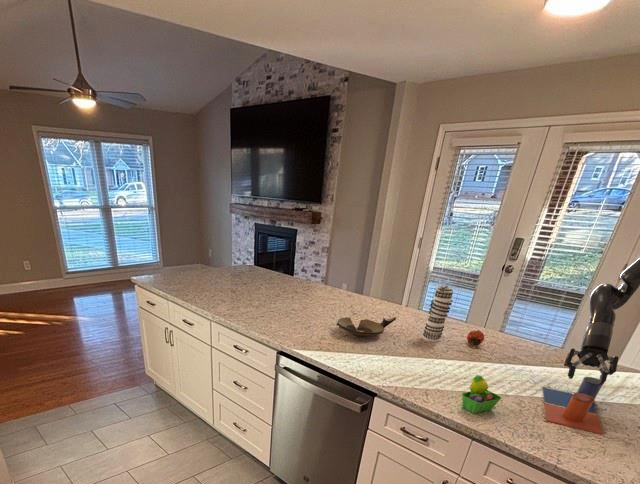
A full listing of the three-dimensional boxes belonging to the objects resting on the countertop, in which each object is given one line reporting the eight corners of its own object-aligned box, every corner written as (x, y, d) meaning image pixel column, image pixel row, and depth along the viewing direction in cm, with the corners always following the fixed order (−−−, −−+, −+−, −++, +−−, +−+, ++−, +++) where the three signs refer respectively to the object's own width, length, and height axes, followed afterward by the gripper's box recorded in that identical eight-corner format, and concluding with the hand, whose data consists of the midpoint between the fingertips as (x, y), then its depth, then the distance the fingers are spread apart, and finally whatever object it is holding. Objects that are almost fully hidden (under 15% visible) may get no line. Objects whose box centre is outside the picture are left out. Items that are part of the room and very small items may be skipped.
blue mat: (590, 398, 155) (591, 397, 155) (596, 414, 145) (596, 413, 145) (542, 388, 161) (542, 387, 161) (544, 402, 151) (544, 401, 151)
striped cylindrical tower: (444, 341, 201) (460, 289, 187) (427, 342, 199) (442, 289, 186) (435, 335, 208) (449, 284, 195) (418, 335, 207) (431, 284, 193)
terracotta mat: (596, 416, 144) (597, 415, 144) (602, 434, 134) (603, 433, 134) (544, 403, 150) (544, 403, 150) (546, 421, 140) (546, 420, 140)
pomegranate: (479, 352, 197) (488, 336, 198) (477, 342, 191) (487, 326, 193) (463, 349, 201) (473, 333, 203) (461, 339, 196) (471, 323, 198)
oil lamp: (333, 324, 216) (335, 310, 212) (391, 328, 214) (394, 314, 210) (335, 339, 197) (338, 324, 193) (399, 344, 195) (403, 328, 191)
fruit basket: (473, 416, 141) (485, 386, 134) (454, 404, 147) (463, 375, 141) (497, 410, 145) (509, 381, 138) (477, 399, 151) (487, 371, 145)
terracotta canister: (582, 416, 143) (593, 395, 139) (584, 424, 138) (595, 403, 134) (561, 411, 145) (571, 391, 141) (562, 419, 141) (573, 398, 136)
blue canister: (592, 398, 154) (602, 379, 150) (594, 405, 150) (605, 385, 145) (572, 394, 157) (582, 375, 152) (574, 401, 152) (584, 381, 148)
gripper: (577, 329, 142) (565, 371, 140) (627, 337, 137) (616, 381, 135) (569, 339, 149) (557, 380, 147) (616, 347, 144) (605, 390, 142)
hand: (585, 380), depth 141 cm, fingers open, 8 cm apart
